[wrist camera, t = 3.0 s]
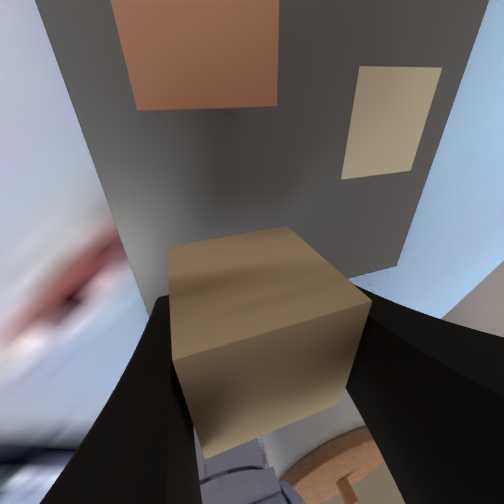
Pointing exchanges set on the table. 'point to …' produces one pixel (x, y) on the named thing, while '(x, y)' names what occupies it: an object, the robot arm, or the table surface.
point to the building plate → (276, 132)
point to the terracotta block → (200, 52)
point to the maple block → (259, 333)
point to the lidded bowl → (323, 453)
